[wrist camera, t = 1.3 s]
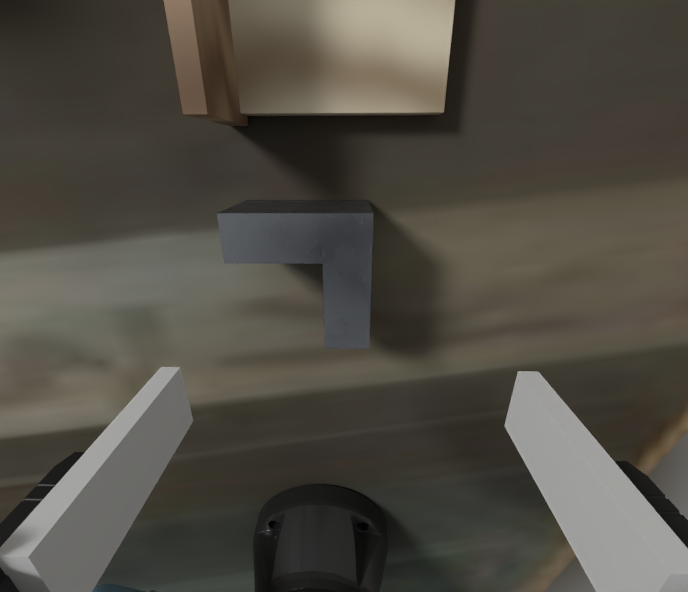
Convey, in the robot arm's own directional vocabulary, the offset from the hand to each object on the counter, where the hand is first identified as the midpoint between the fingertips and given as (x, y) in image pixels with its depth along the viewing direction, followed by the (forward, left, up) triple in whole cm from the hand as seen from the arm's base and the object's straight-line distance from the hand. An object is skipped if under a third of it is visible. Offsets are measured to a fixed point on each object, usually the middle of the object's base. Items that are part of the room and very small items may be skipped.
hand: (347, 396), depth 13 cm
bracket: (+1, +3, -15) cm, 15 cm away
